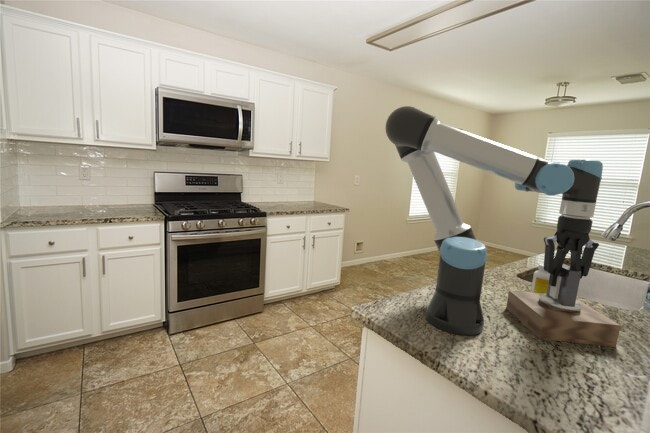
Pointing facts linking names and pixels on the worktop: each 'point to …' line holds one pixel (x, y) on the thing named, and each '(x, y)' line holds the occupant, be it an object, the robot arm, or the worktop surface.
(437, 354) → the worktop surface
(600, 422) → the worktop surface
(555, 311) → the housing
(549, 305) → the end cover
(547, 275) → the supplement bottle
